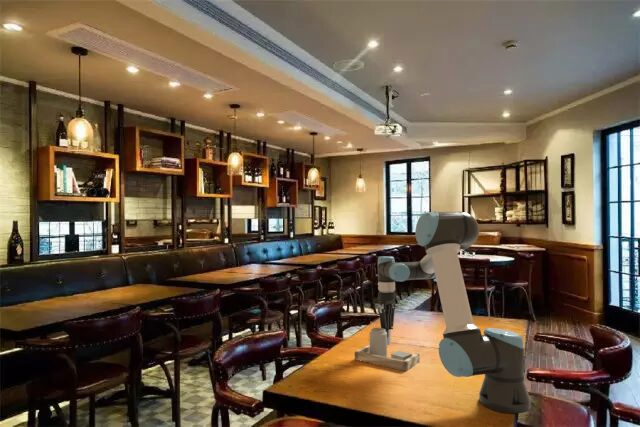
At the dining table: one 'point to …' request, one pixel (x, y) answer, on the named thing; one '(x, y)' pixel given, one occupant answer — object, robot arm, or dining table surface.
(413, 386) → the dining table surface
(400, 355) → the pale grey square block
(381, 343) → the can
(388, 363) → the tray
